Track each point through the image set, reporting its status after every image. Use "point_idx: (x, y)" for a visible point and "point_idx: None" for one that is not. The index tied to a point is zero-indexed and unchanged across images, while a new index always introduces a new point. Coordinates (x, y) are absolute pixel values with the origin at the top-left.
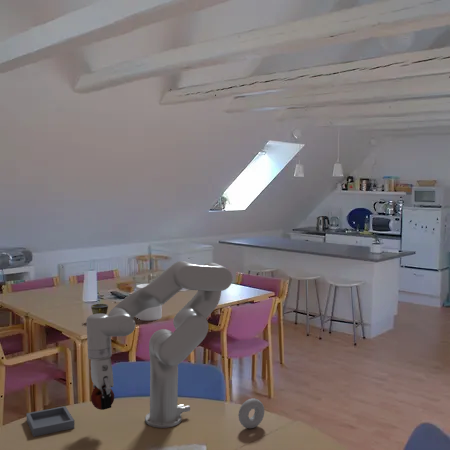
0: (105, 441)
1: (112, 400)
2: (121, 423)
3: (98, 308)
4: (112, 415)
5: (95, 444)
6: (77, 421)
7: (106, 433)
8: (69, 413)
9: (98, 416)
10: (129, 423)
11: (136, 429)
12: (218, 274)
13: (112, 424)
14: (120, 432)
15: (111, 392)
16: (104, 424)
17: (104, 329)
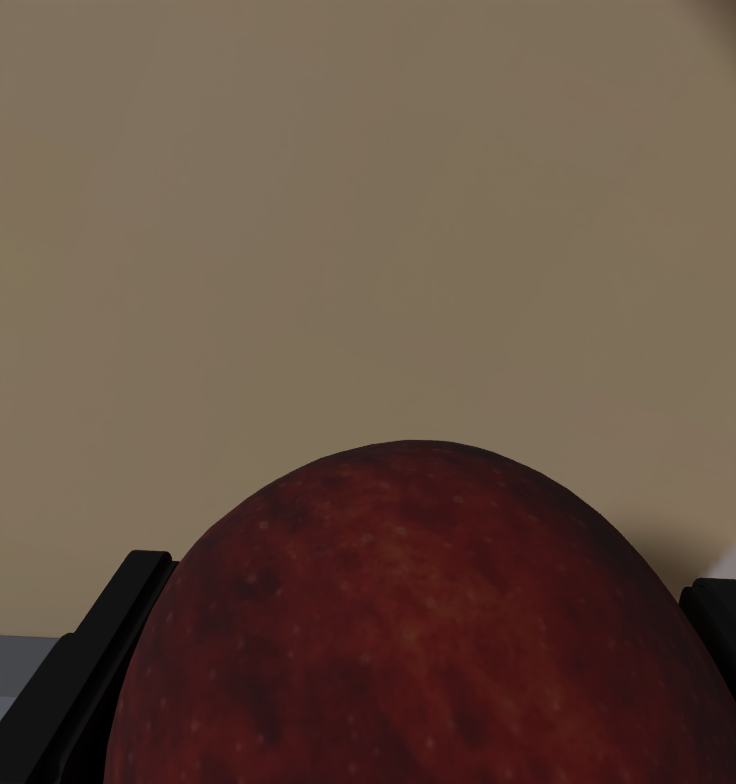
0: (678, 492)
1: (642, 559)
2: (359, 180)
3: None
4: (82, 201)
5: (673, 588)
6: (92, 584)
7: (513, 425)
8: (4, 700)
9: (49, 363)
10: (411, 80)
11: (628, 60)
12: None
13: (331, 291)
14: (582, 280)
15: (688, 738)
16: (287, 372)
17: None
